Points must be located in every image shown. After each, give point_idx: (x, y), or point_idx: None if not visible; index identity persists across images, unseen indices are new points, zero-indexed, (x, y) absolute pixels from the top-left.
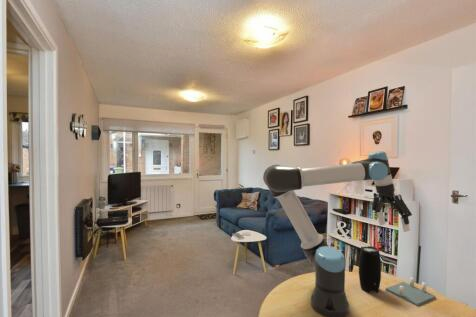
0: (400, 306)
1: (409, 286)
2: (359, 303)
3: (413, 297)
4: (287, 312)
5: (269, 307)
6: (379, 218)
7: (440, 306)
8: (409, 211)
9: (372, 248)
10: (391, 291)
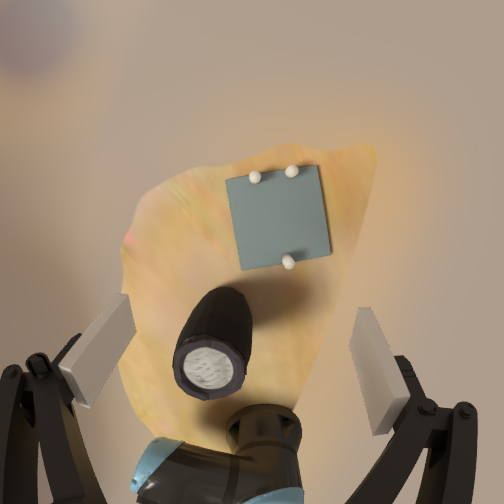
0: (315, 296)
1: (253, 187)
2: (273, 376)
3: (304, 235)
4: None
5: None
6: (112, 368)
7: (345, 194)
8: (473, 439)
9: (196, 348)
10: (260, 267)
